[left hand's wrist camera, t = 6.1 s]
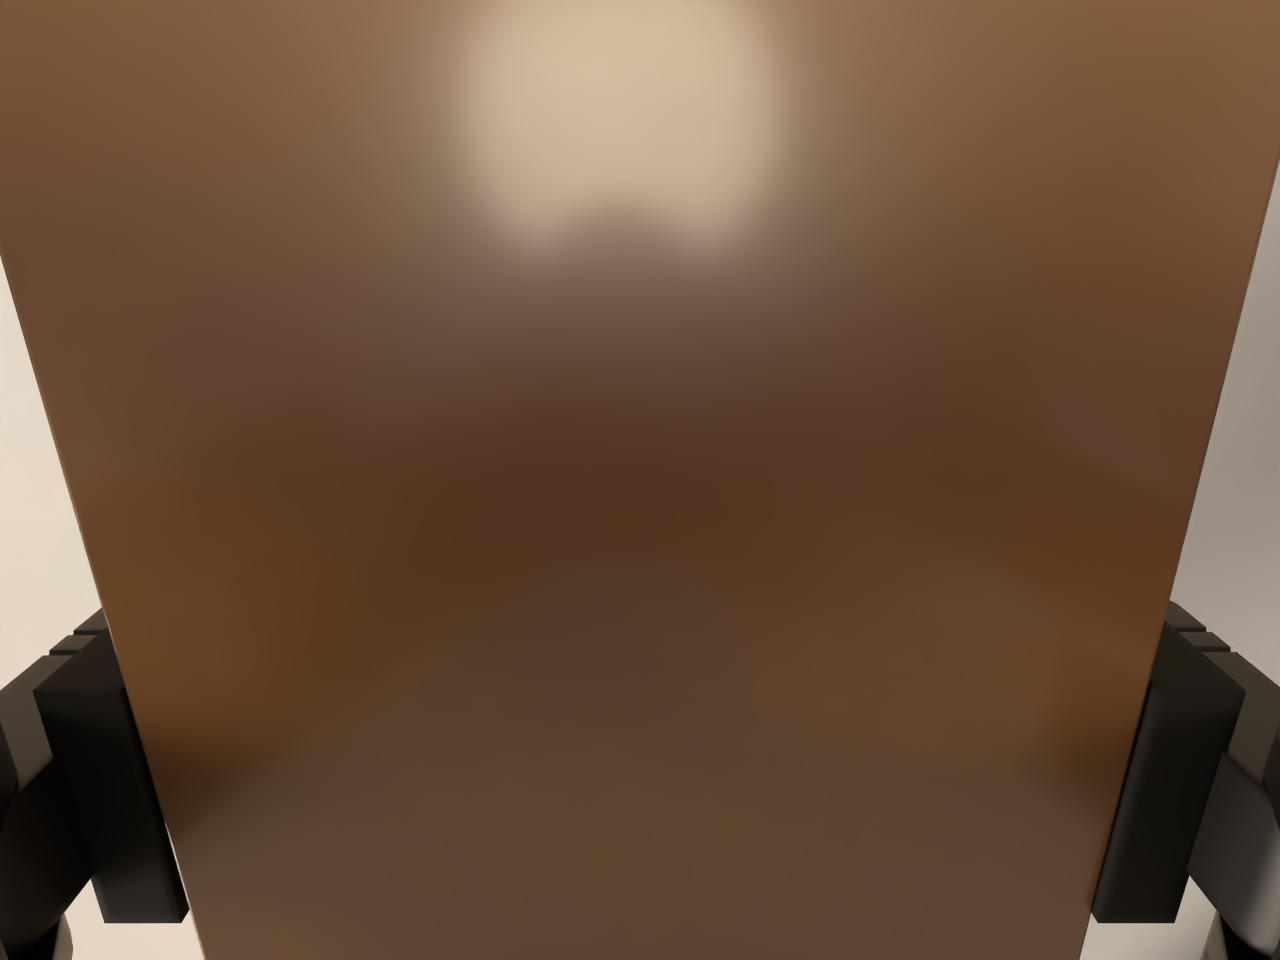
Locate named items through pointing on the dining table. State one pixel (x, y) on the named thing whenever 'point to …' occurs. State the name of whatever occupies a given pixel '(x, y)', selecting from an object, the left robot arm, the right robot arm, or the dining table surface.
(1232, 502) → the dining table surface
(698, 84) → the wide beam
